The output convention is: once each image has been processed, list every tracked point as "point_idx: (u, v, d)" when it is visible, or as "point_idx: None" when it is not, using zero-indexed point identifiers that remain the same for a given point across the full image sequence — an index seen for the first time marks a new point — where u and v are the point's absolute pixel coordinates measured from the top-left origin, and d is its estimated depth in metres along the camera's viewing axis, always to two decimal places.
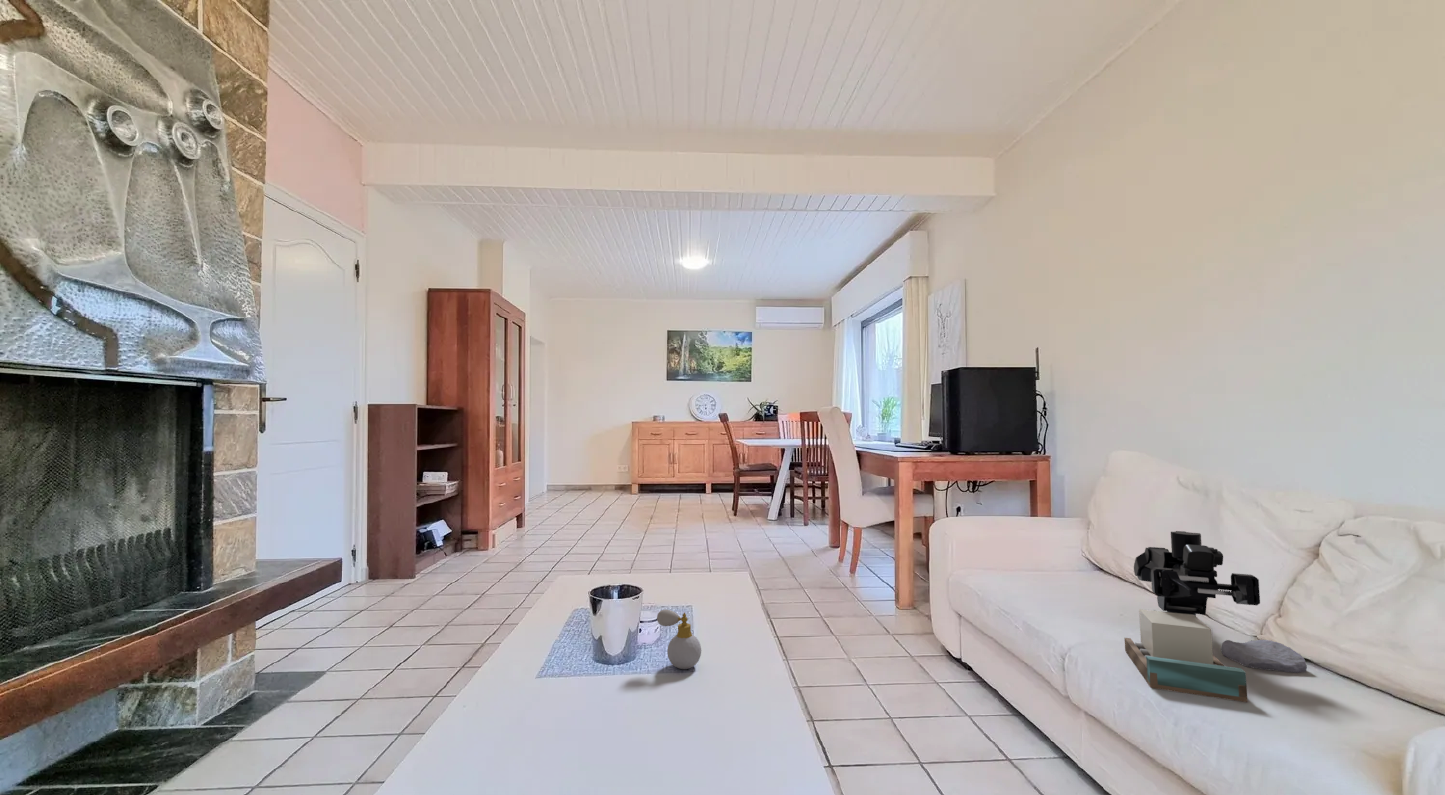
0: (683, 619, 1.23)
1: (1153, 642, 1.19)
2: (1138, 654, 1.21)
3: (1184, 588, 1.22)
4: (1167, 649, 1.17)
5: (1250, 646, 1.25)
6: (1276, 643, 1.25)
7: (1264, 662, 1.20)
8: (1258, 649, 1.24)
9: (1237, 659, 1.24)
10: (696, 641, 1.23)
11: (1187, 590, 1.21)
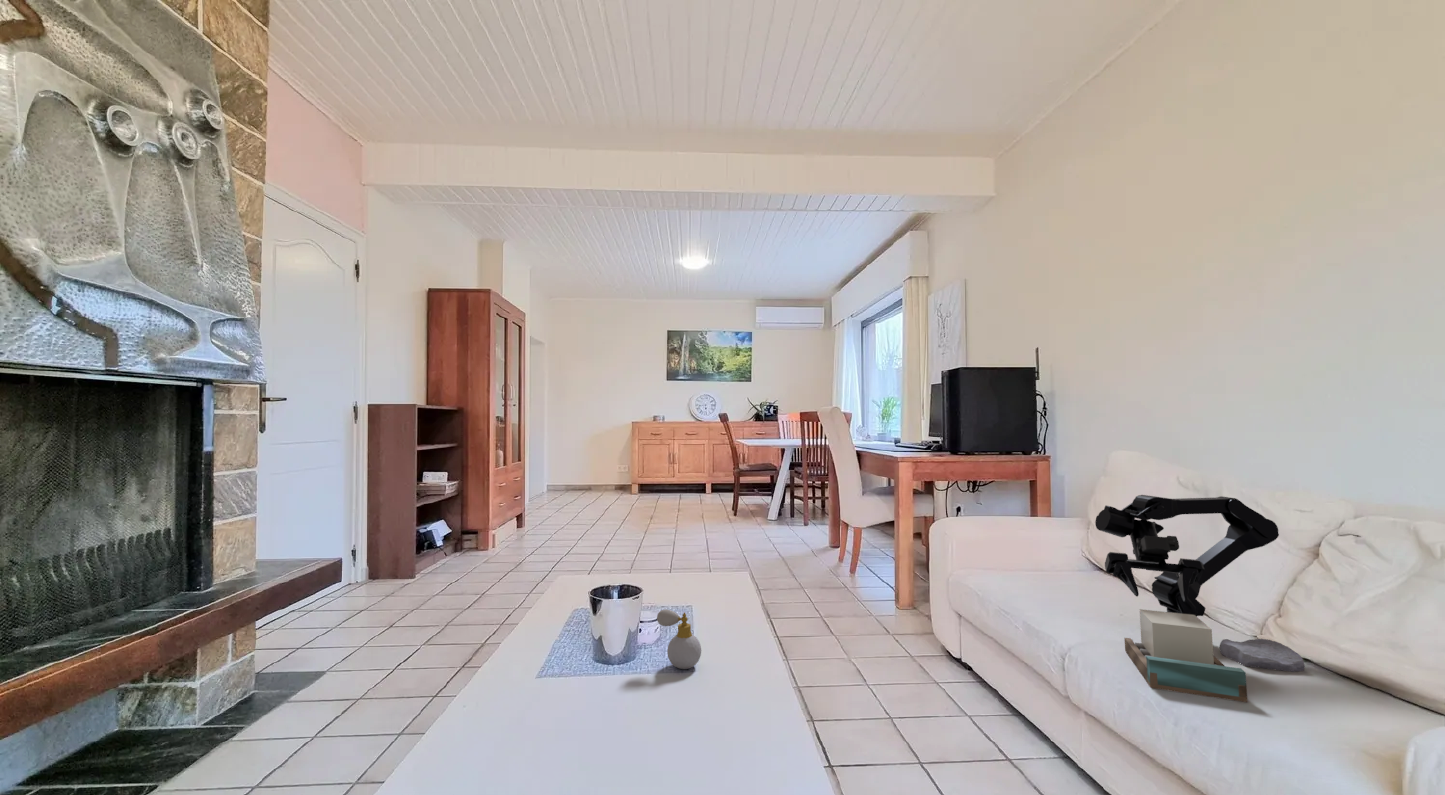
0: (683, 619, 1.23)
1: (1153, 642, 1.19)
2: (1138, 654, 1.21)
3: (1133, 588, 1.33)
4: (1167, 649, 1.17)
5: (1248, 645, 1.26)
6: (1274, 642, 1.25)
7: (1262, 661, 1.20)
8: (1256, 648, 1.24)
9: (1235, 658, 1.25)
10: (696, 641, 1.23)
11: (1135, 592, 1.32)
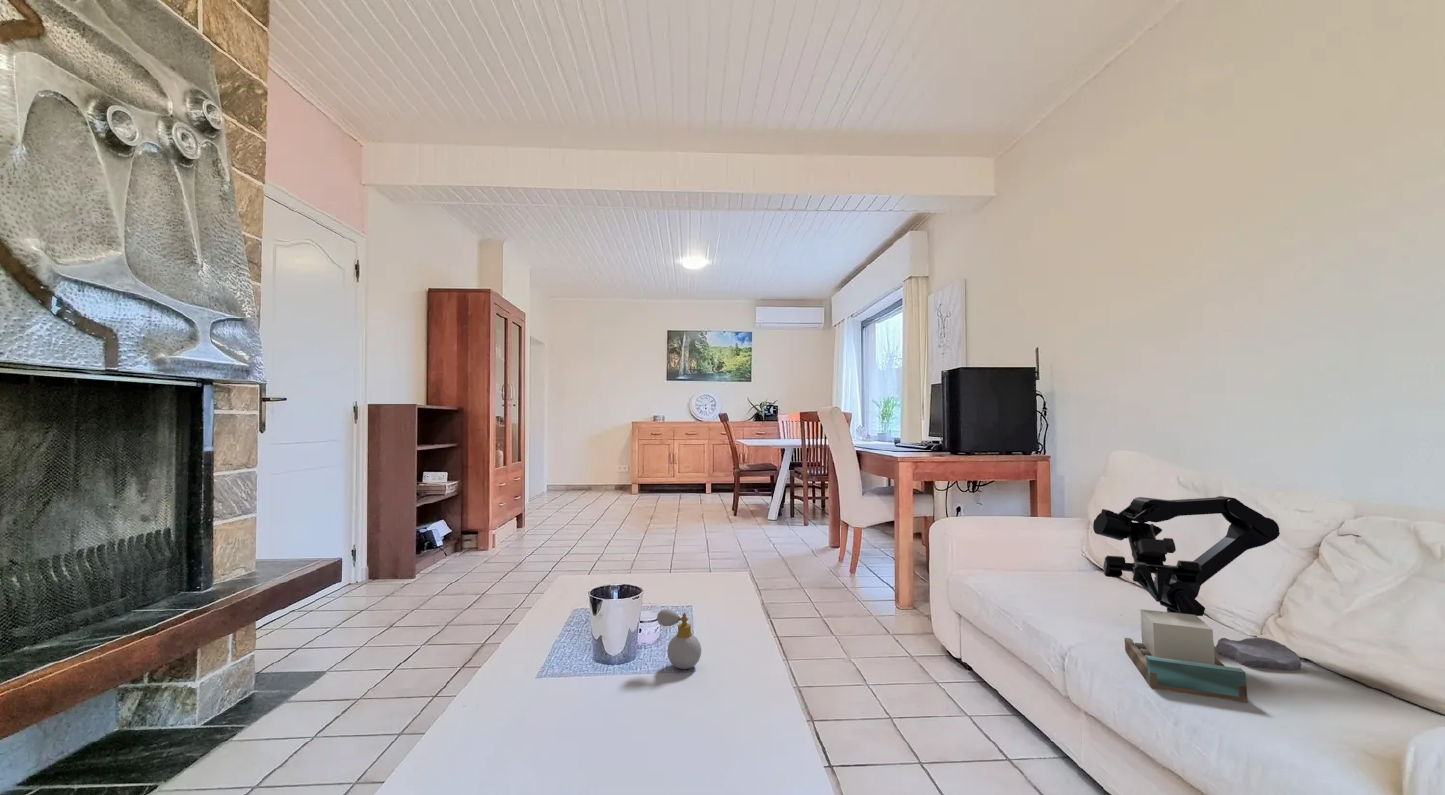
0: (683, 619, 1.23)
1: (1154, 642, 1.18)
2: (1138, 654, 1.21)
3: (1153, 593, 1.32)
4: (1168, 649, 1.17)
5: (1245, 644, 1.27)
6: (1271, 641, 1.26)
7: (1259, 659, 1.21)
8: (1253, 646, 1.25)
9: (1232, 657, 1.26)
10: (696, 641, 1.23)
11: (1155, 597, 1.31)
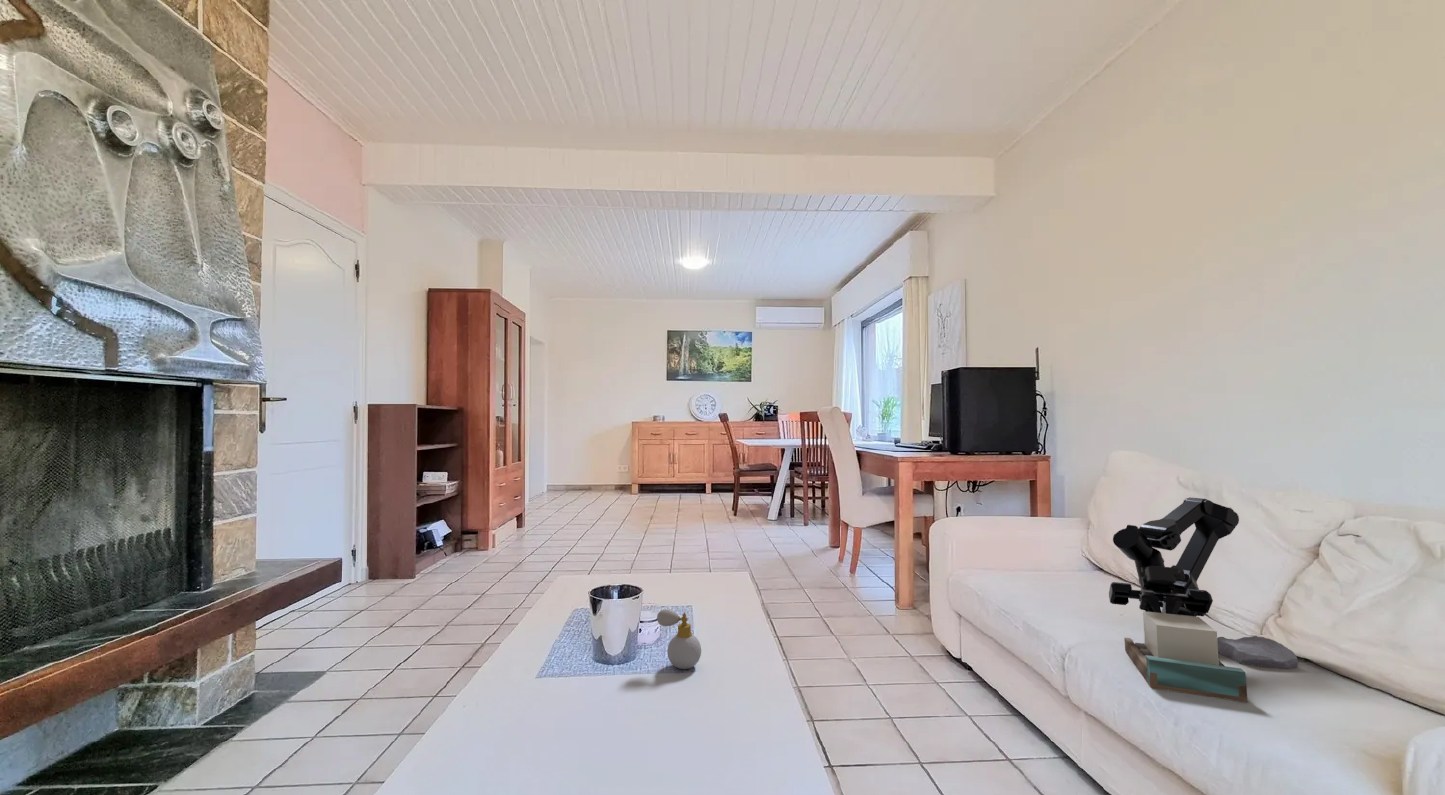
0: (683, 619, 1.23)
1: (1158, 645, 1.17)
2: (1138, 654, 1.21)
3: None
4: (1172, 652, 1.16)
5: (1243, 643, 1.27)
6: (1268, 640, 1.27)
7: (1256, 658, 1.22)
8: (1250, 645, 1.26)
9: (1230, 655, 1.26)
10: (696, 641, 1.23)
11: None
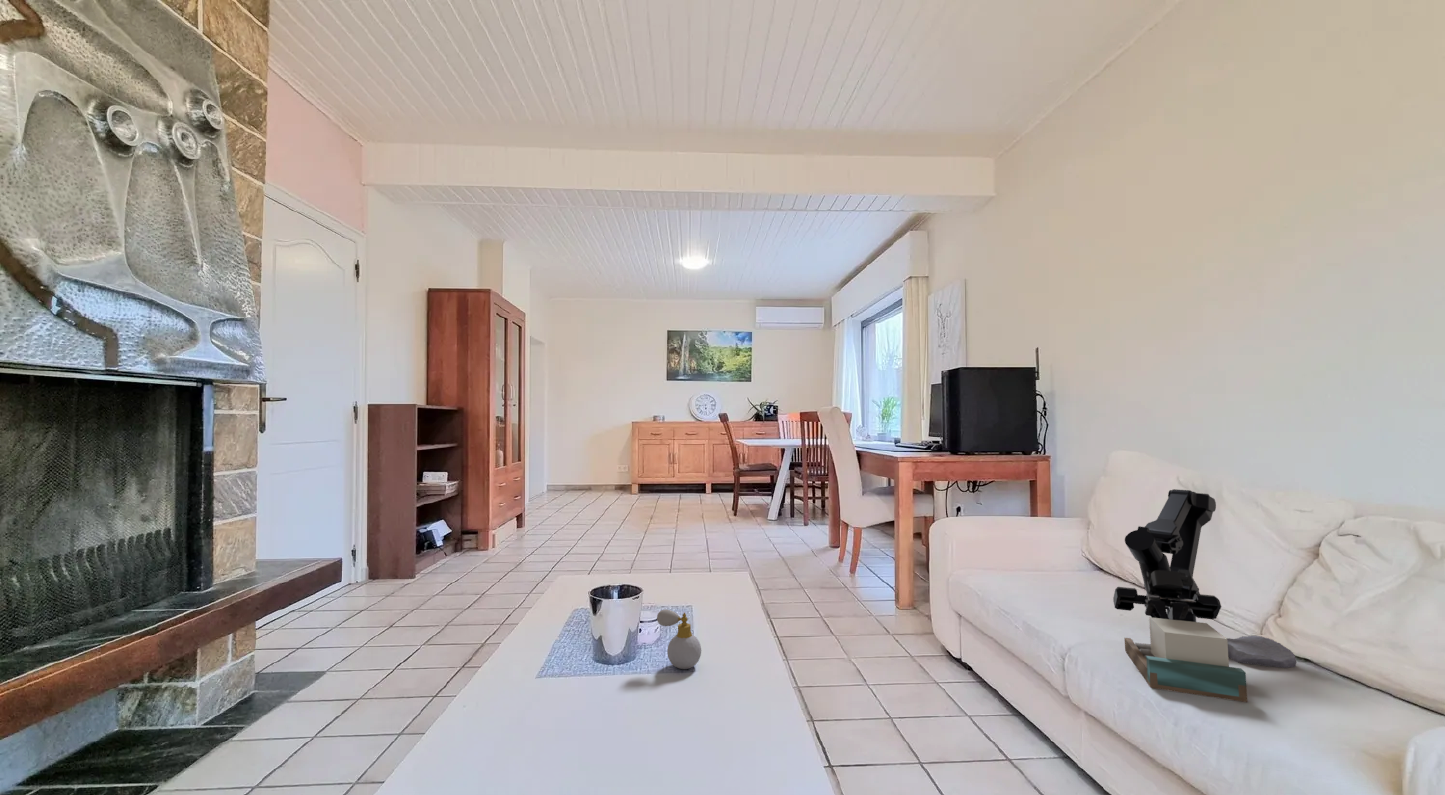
0: (683, 619, 1.23)
1: (1166, 653, 1.13)
2: (1138, 654, 1.21)
3: None
4: (1181, 660, 1.12)
5: (1241, 642, 1.28)
6: (1266, 639, 1.27)
7: (1255, 657, 1.22)
8: (1249, 644, 1.26)
9: (1229, 655, 1.27)
10: (696, 641, 1.23)
11: None
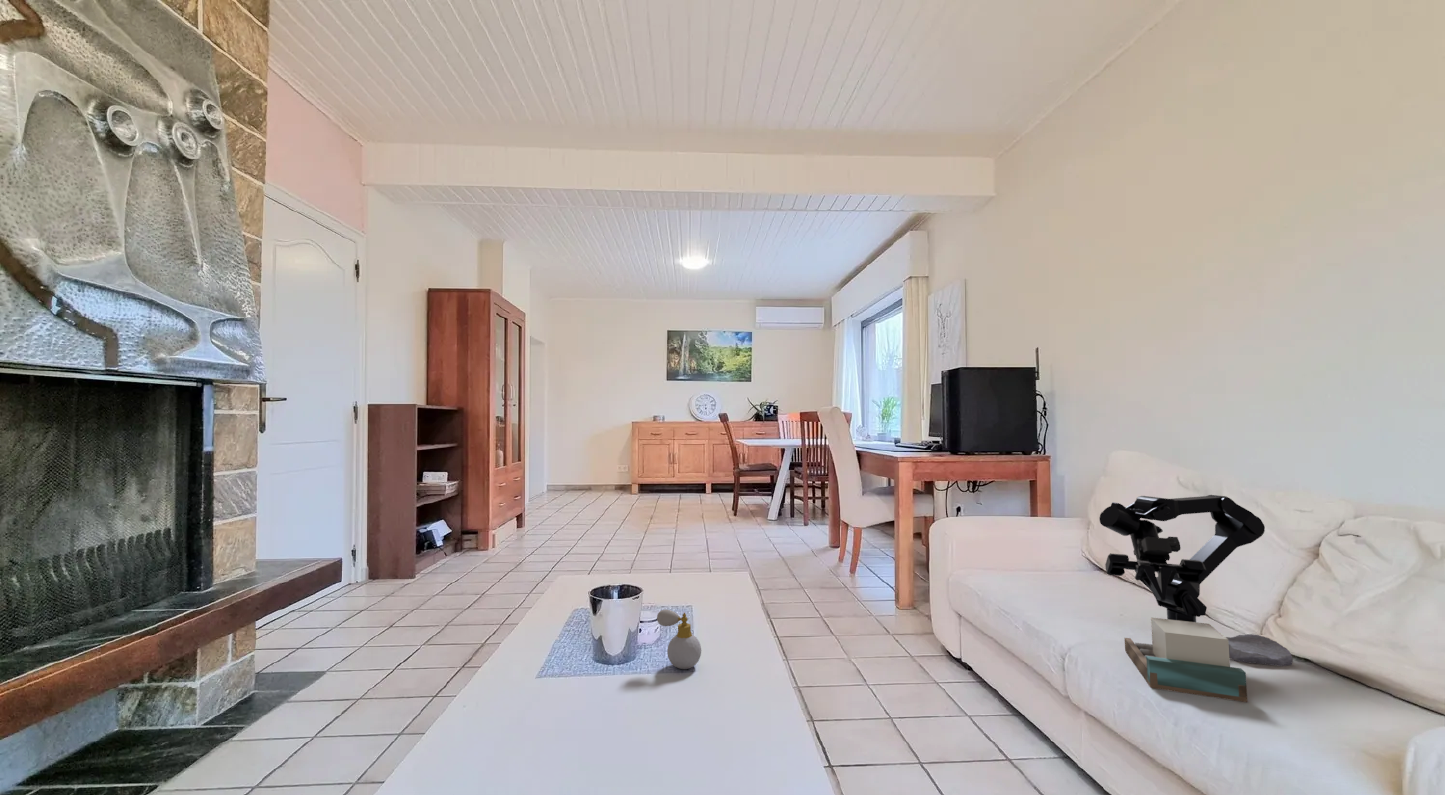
0: (683, 619, 1.23)
1: (1167, 653, 1.13)
2: (1138, 654, 1.21)
3: (1157, 592, 1.30)
4: (1181, 660, 1.12)
5: (1238, 641, 1.29)
6: (1263, 637, 1.28)
7: (1252, 656, 1.23)
8: (1246, 643, 1.27)
9: None
10: (696, 641, 1.23)
11: (1159, 596, 1.29)
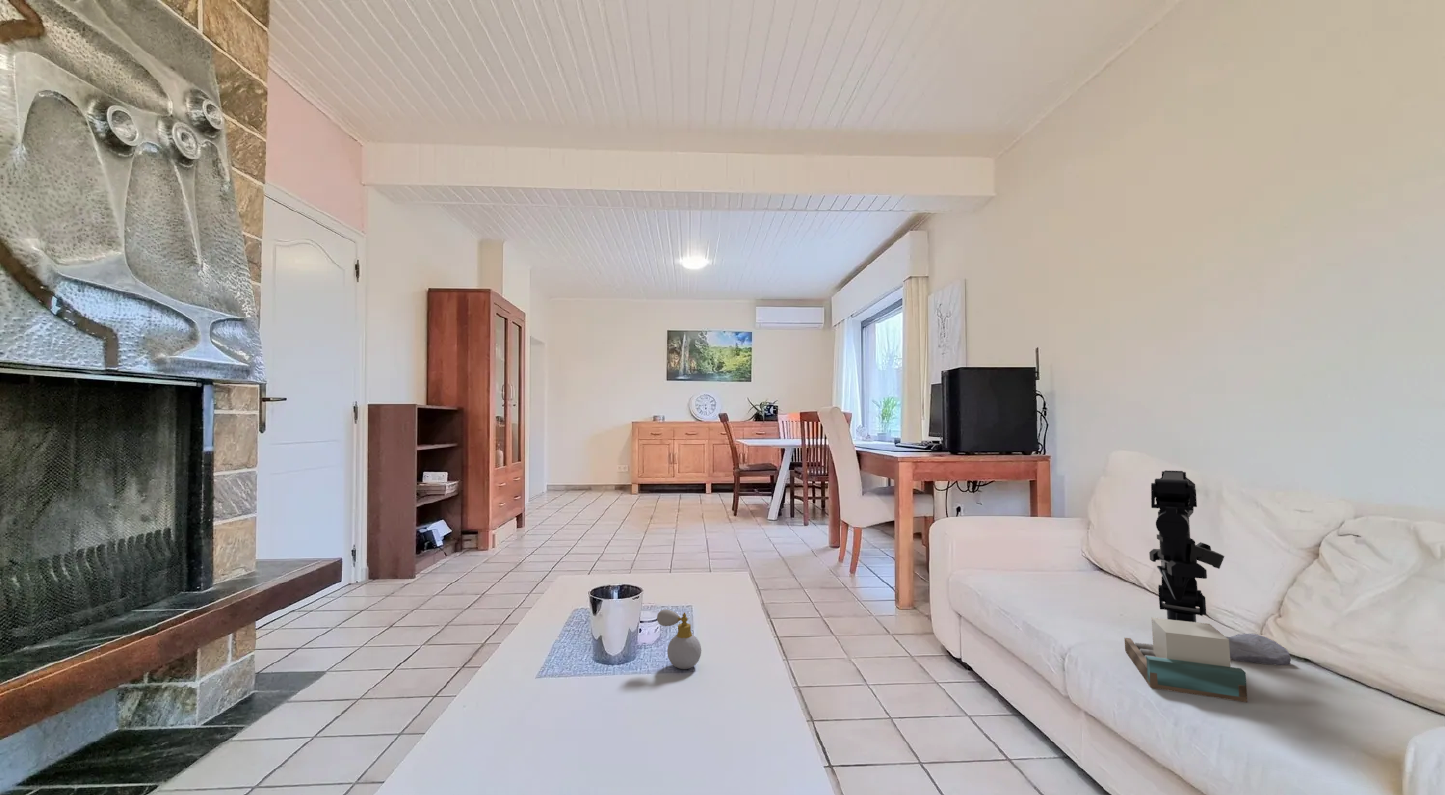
0: (683, 619, 1.23)
1: (1167, 653, 1.13)
2: (1138, 654, 1.21)
3: (1181, 594, 1.29)
4: (1182, 660, 1.12)
5: (1236, 640, 1.29)
6: (1261, 637, 1.29)
7: (1250, 655, 1.23)
8: (1244, 642, 1.27)
9: None
10: (696, 641, 1.23)
11: (1180, 598, 1.30)
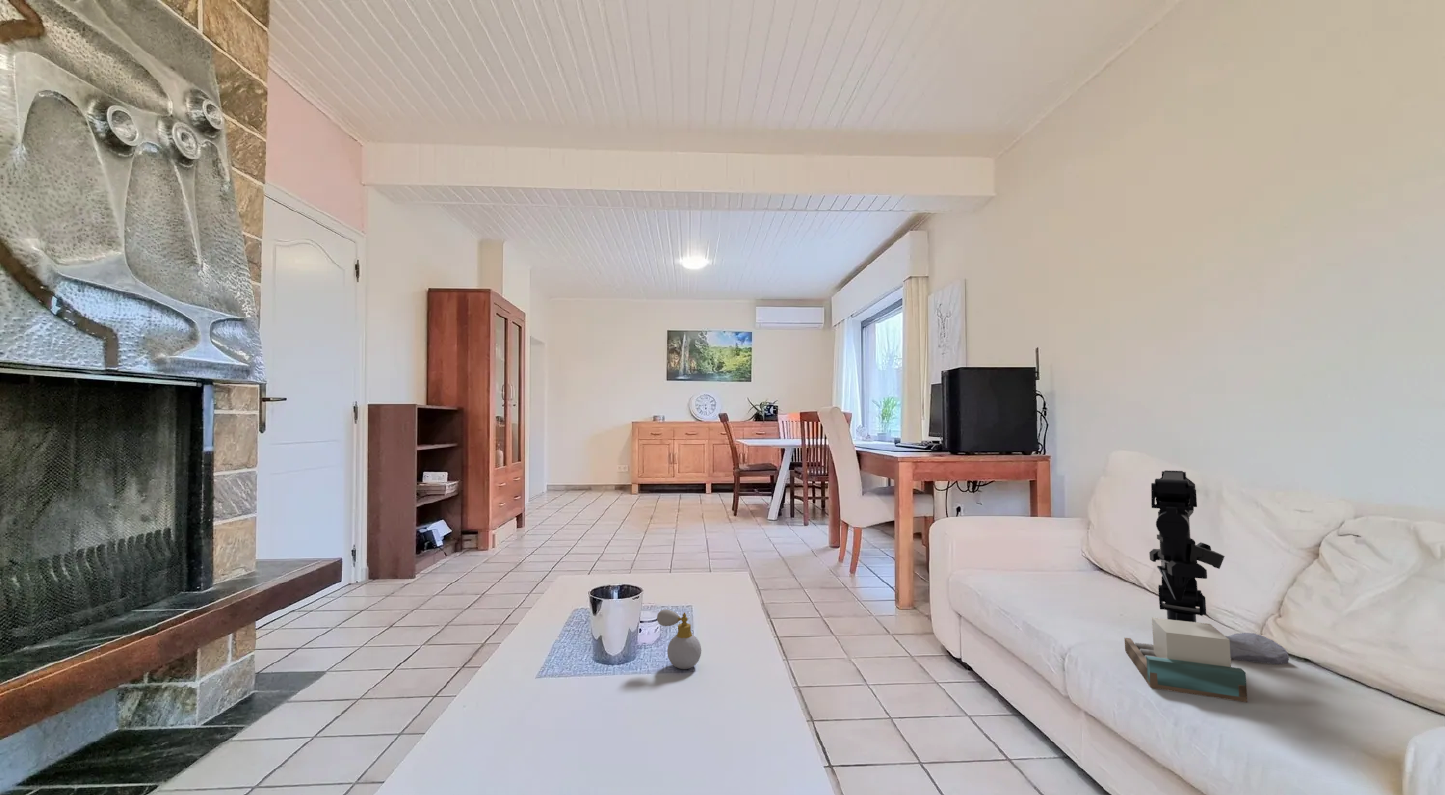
0: (683, 619, 1.23)
1: (1168, 653, 1.13)
2: (1138, 654, 1.21)
3: (1181, 594, 1.29)
4: (1182, 660, 1.12)
5: (1235, 639, 1.29)
6: (1259, 636, 1.29)
7: (1249, 654, 1.24)
8: (1242, 641, 1.28)
9: None
10: (696, 641, 1.23)
11: (1180, 598, 1.30)
